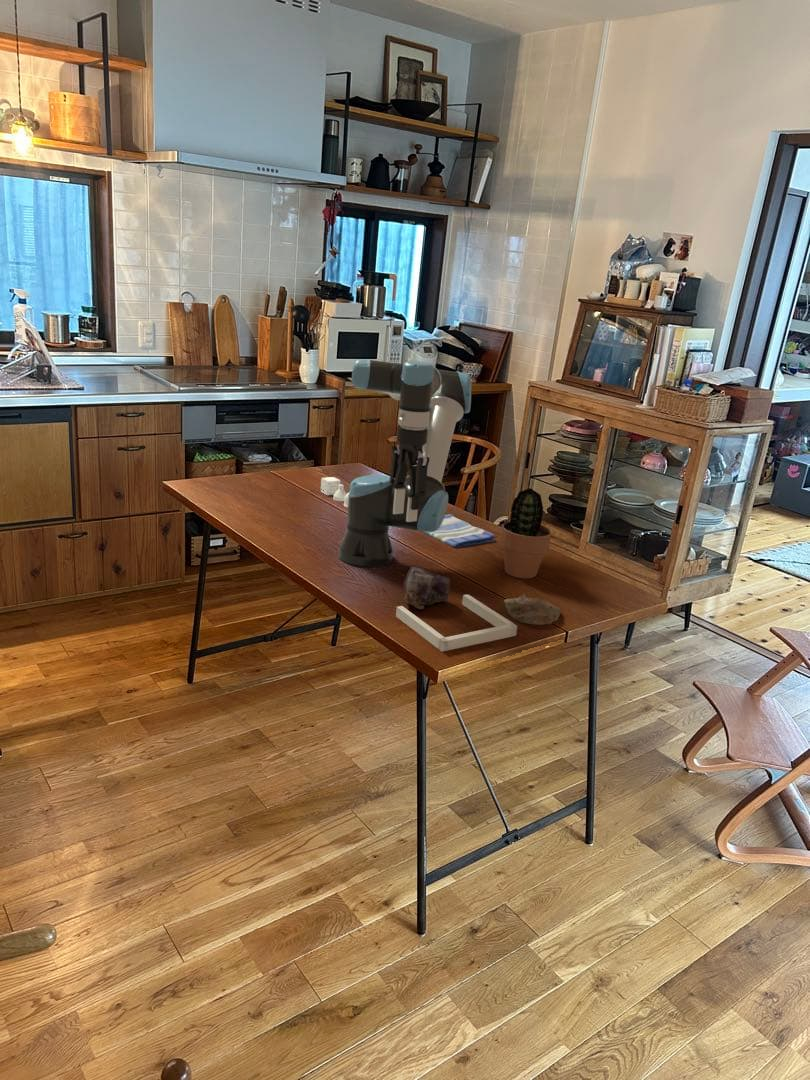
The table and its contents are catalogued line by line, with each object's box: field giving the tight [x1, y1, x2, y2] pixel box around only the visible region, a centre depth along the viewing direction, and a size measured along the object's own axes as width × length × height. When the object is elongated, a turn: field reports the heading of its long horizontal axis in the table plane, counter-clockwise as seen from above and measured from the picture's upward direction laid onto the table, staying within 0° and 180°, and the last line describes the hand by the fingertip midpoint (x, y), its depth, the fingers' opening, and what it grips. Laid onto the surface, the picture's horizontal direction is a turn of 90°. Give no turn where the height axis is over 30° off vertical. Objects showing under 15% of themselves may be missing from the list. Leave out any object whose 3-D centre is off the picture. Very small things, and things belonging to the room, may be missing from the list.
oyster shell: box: [503, 593, 562, 626], centre depth 201 cm, size 11×15×6 cm
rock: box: [403, 566, 451, 610], centre depth 202 cm, size 12×9×10 cm
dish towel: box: [422, 513, 496, 549], centre depth 257 cm, size 17×24×3 cm
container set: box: [320, 476, 349, 508], centre depth 280 cm, size 20×5×6 cm, turn 34°
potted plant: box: [500, 487, 553, 579], centre depth 225 cm, size 14×14×25 cm
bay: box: [395, 594, 518, 653], centre depth 192 cm, size 20×21×2 cm
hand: (404, 517), depth 206 cm, fingers open, 6 cm apart
